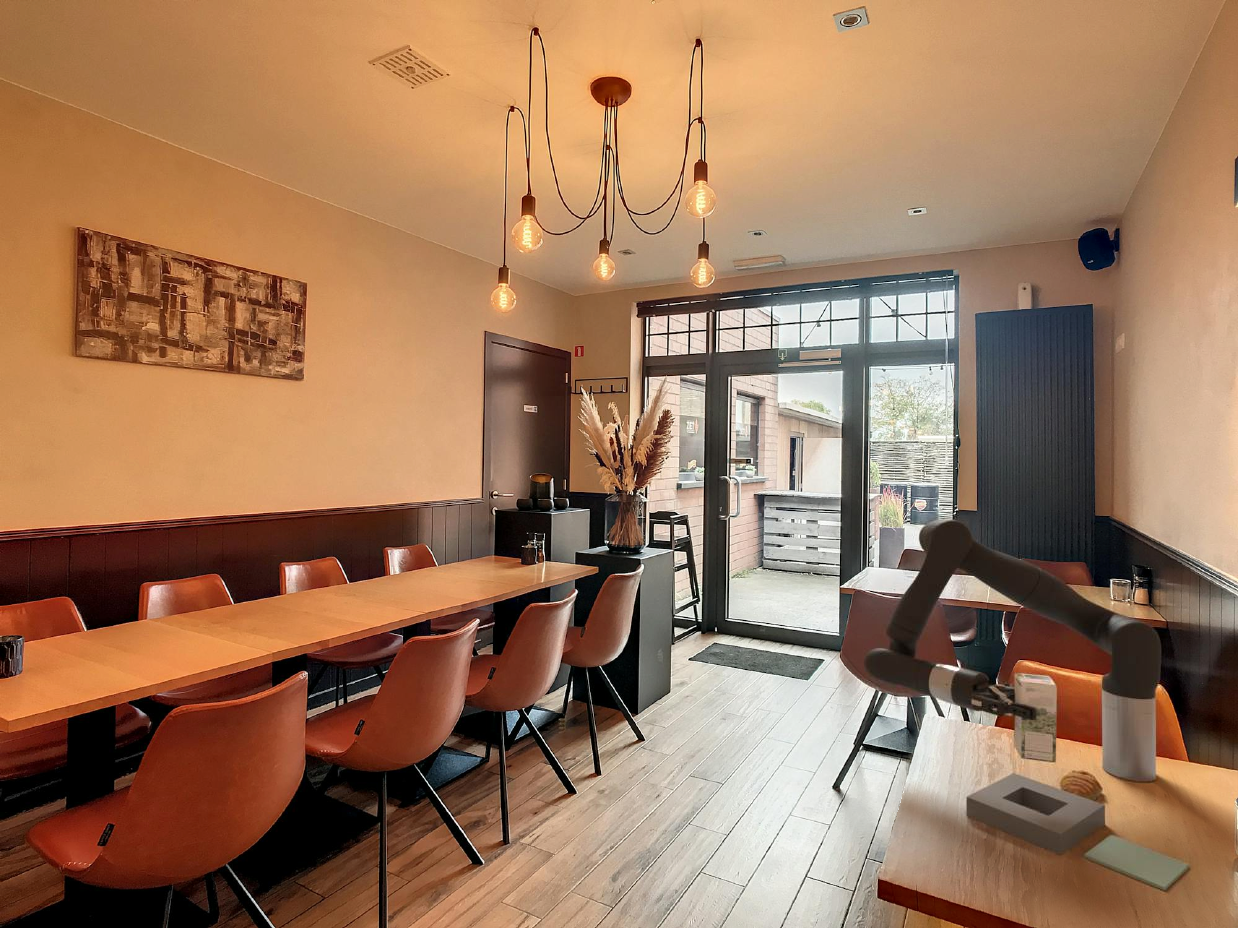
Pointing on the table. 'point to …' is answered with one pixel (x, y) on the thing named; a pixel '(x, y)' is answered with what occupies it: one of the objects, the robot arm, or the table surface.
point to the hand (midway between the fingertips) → (1046, 709)
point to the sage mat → (1137, 862)
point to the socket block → (1053, 832)
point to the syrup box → (1040, 733)
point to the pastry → (1081, 784)
